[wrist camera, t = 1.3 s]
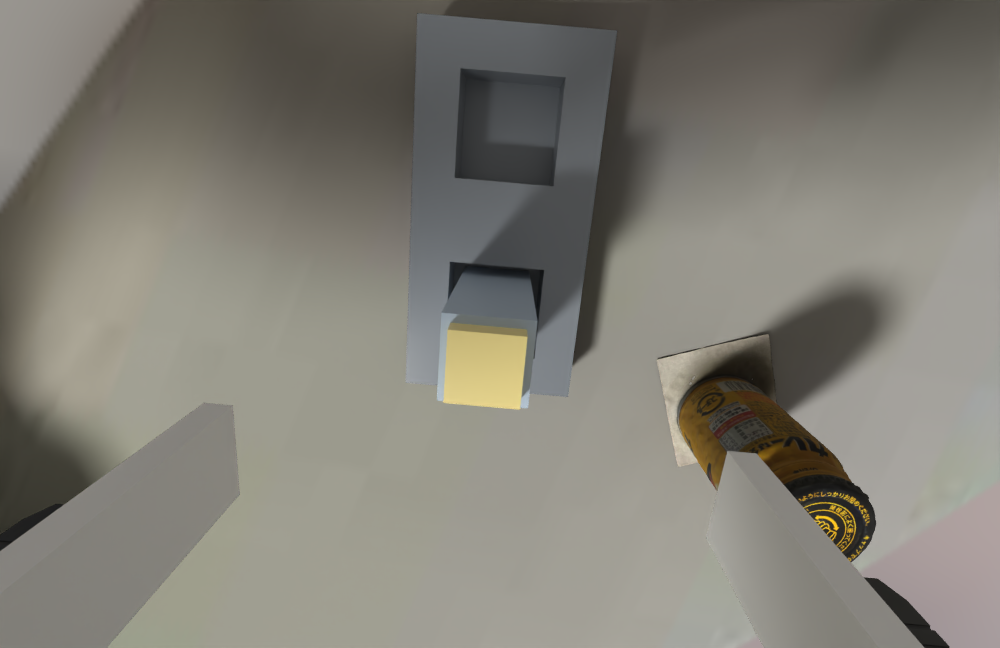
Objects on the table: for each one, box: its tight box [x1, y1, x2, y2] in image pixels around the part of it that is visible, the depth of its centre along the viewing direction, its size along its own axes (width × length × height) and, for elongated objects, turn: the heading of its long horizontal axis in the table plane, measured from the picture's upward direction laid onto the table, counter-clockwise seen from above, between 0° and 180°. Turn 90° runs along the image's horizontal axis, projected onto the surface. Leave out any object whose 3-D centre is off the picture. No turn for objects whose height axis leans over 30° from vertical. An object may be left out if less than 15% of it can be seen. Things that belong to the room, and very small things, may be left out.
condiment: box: [657, 334, 876, 562], centre depth 28 cm, size 7×8×12 cm
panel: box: [406, 13, 617, 397], centre depth 29 cm, size 10×20×4 cm, turn 175°
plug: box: [437, 266, 537, 410], centre depth 26 cm, size 4×4×12 cm
